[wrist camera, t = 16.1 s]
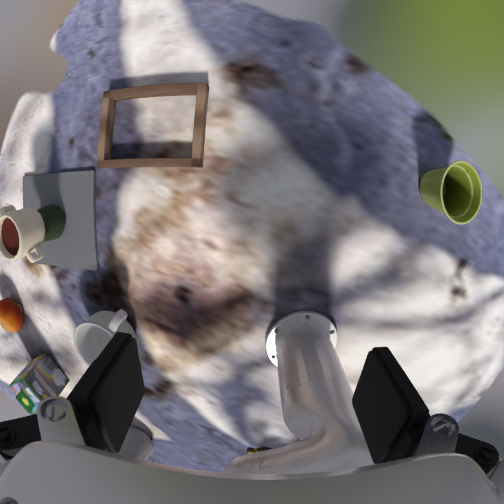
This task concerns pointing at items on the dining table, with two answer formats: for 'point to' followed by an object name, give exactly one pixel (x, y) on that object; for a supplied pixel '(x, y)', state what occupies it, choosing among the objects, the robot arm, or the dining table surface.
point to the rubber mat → (67, 216)
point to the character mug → (28, 230)
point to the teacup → (99, 333)
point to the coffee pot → (137, 445)
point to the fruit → (11, 315)
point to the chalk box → (38, 382)
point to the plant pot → (453, 191)
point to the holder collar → (152, 91)
